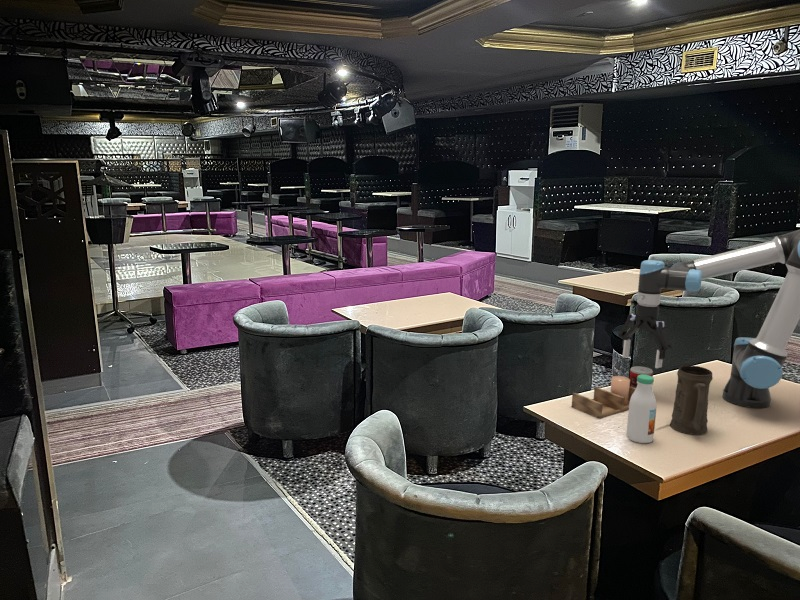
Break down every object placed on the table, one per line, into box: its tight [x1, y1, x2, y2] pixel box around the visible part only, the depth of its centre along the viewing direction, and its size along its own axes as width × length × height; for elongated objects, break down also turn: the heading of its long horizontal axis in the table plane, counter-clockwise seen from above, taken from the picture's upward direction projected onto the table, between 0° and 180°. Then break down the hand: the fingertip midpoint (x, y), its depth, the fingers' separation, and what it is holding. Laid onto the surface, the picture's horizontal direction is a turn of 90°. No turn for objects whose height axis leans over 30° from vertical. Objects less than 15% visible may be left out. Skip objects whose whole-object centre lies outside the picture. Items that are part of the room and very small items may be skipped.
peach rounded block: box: [610, 375, 630, 406], centre depth 207 cm, size 6×6×9 cm
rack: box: [571, 386, 636, 420], centre depth 204 cm, size 12×23×6 cm, turn 121°
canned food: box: [628, 365, 654, 388], centre depth 214 cm, size 8×8×11 cm
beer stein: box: [669, 365, 713, 436], centre depth 186 cm, size 15×11×20 cm
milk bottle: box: [626, 375, 657, 444], centre depth 180 cm, size 8×8×20 cm
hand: (641, 362), depth 212 cm, fingers open, 13 cm apart
